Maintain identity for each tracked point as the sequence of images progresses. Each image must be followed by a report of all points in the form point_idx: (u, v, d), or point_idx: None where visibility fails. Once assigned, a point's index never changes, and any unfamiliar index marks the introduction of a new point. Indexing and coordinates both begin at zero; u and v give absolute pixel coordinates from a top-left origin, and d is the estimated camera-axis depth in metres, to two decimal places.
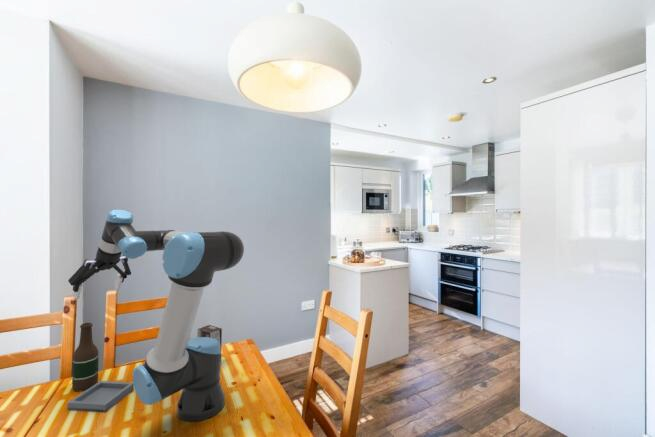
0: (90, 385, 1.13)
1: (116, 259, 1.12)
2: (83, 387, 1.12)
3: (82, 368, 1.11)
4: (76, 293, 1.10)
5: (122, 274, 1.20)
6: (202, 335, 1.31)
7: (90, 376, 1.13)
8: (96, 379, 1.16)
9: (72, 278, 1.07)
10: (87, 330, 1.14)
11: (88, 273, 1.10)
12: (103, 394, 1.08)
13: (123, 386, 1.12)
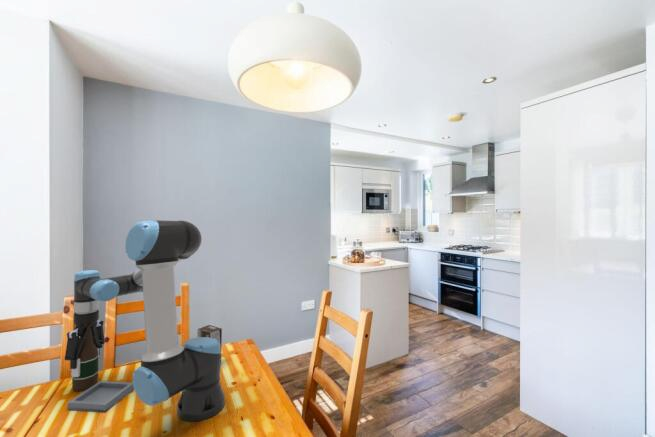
0: (90, 385, 1.13)
1: (97, 317, 1.15)
2: (83, 387, 1.12)
3: (82, 368, 1.11)
4: (75, 371, 1.10)
5: (98, 343, 1.19)
6: (202, 335, 1.31)
7: (90, 376, 1.13)
8: (96, 379, 1.16)
9: (67, 355, 1.07)
10: None
11: (78, 344, 1.11)
12: (103, 394, 1.08)
13: (123, 386, 1.12)
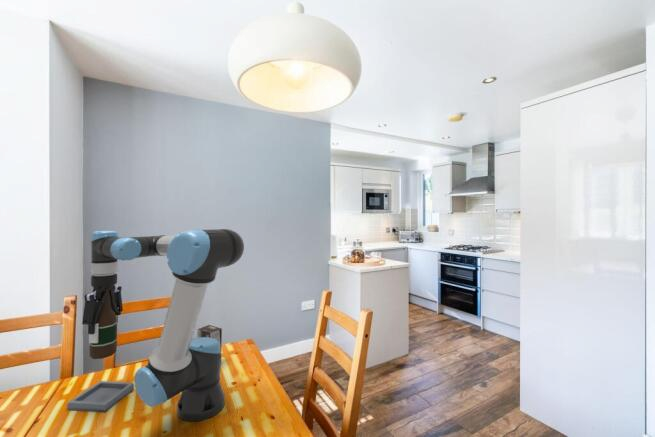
0: (109, 353, 1.05)
1: (116, 281, 1.08)
2: (101, 354, 1.04)
3: (100, 334, 1.04)
4: (93, 336, 1.02)
5: (116, 310, 1.11)
6: (202, 335, 1.31)
7: (108, 343, 1.05)
8: (115, 347, 1.08)
9: (85, 318, 1.00)
10: None
11: (96, 308, 1.03)
12: (103, 394, 1.08)
13: (123, 386, 1.12)
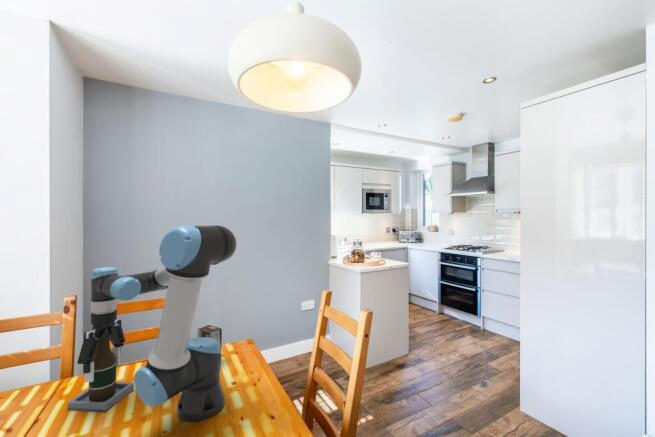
0: (108, 395, 1.05)
1: (115, 318, 1.08)
2: (100, 397, 1.04)
3: (99, 377, 1.04)
4: (89, 375, 1.01)
5: (118, 342, 1.13)
6: (202, 335, 1.31)
7: (107, 385, 1.05)
8: (114, 389, 1.08)
9: (81, 357, 0.98)
10: None
11: (93, 346, 1.02)
12: None
13: (123, 386, 1.12)
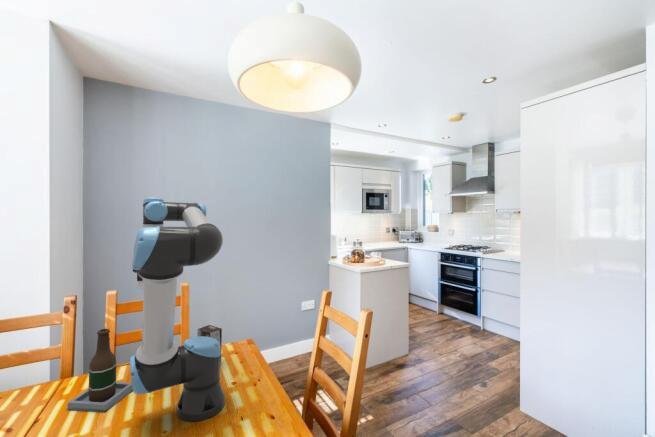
0: (108, 396, 1.05)
1: None
2: (100, 398, 1.04)
3: (99, 378, 1.03)
4: (141, 283, 1.18)
5: None
6: (202, 335, 1.31)
7: (107, 386, 1.05)
8: (114, 389, 1.08)
9: None
10: (105, 337, 1.06)
11: None
12: None
13: (123, 386, 1.12)
